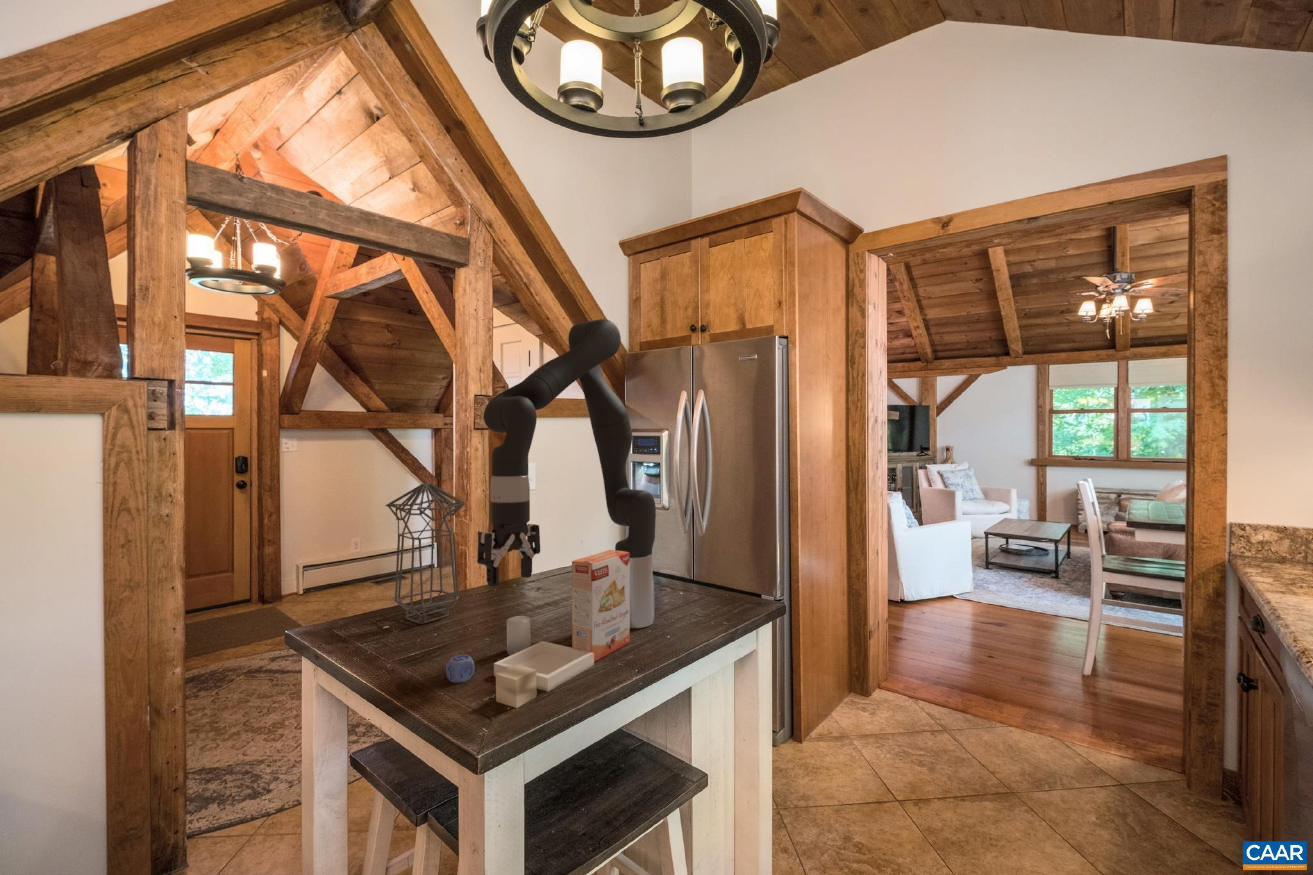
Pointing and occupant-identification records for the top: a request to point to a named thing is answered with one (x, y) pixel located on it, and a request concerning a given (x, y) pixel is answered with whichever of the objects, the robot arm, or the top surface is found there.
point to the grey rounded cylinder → (518, 634)
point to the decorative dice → (460, 668)
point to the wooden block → (516, 685)
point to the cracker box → (601, 602)
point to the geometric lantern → (433, 491)
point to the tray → (549, 663)
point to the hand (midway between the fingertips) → (510, 581)
